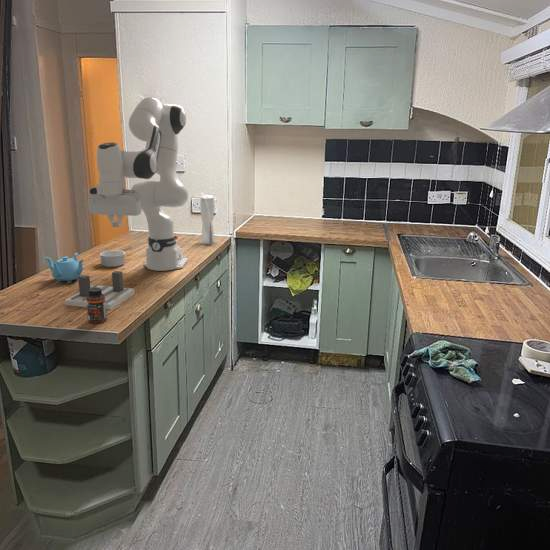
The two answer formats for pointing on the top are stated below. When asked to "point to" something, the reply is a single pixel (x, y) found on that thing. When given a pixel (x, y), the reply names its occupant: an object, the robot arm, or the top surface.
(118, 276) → the switch tab
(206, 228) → the skyscraper
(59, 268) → the teapot
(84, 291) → the switch tab
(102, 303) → the supplement bottle
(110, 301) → the white board with strips
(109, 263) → the saucepan
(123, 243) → the top surface
